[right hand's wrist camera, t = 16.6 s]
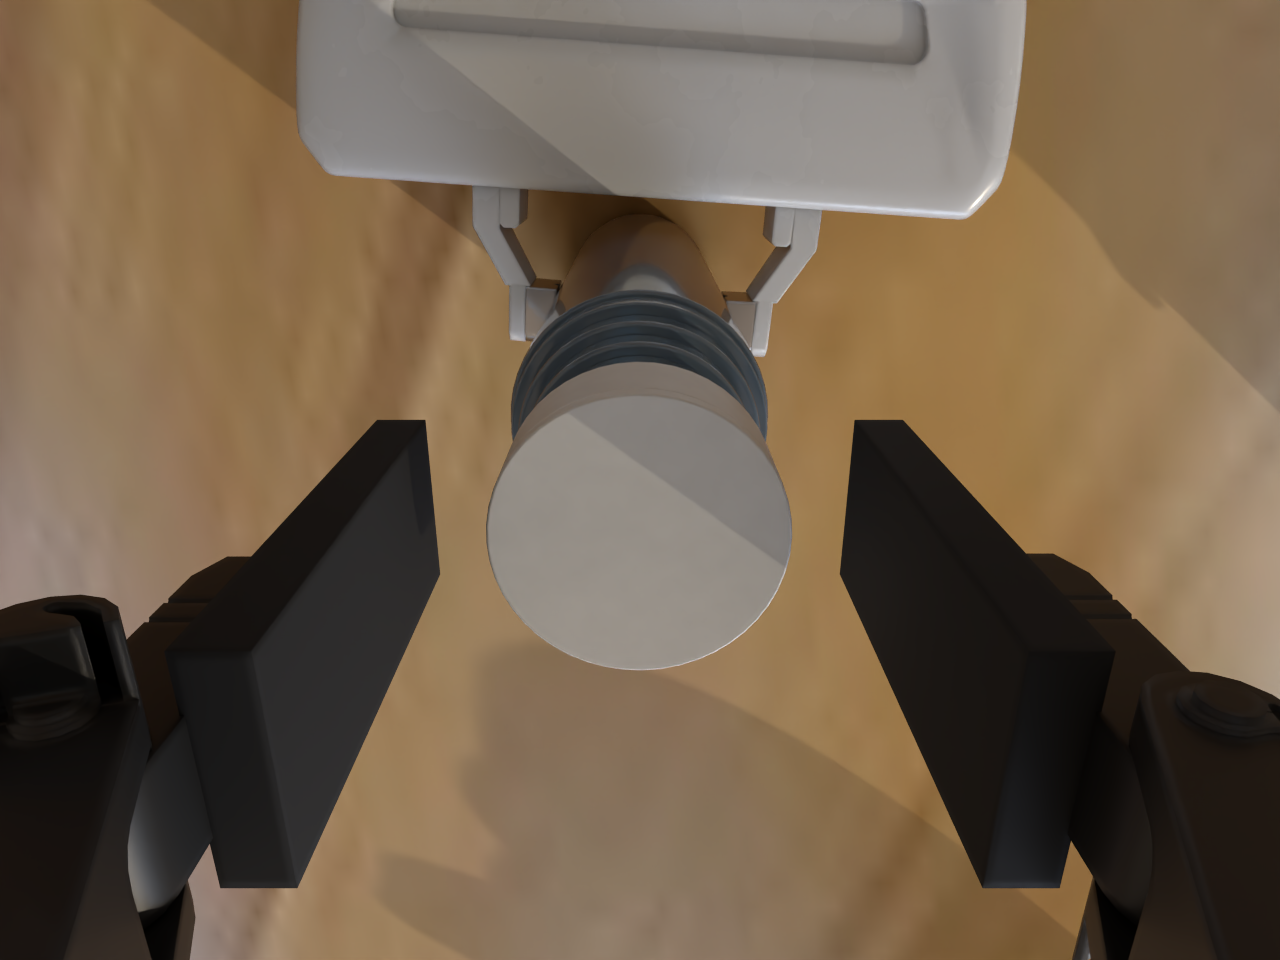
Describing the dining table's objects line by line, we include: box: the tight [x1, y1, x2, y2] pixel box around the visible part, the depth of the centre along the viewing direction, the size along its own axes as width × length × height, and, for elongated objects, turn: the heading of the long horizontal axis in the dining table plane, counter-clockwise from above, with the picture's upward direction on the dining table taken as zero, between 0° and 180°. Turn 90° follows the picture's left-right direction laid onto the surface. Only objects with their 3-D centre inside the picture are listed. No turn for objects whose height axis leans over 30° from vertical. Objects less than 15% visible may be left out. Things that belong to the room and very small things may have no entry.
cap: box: [486, 362, 792, 670], centre depth 13 cm, size 4×4×2 cm
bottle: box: [511, 214, 768, 442], centre depth 24 cm, size 5×5×23 cm
